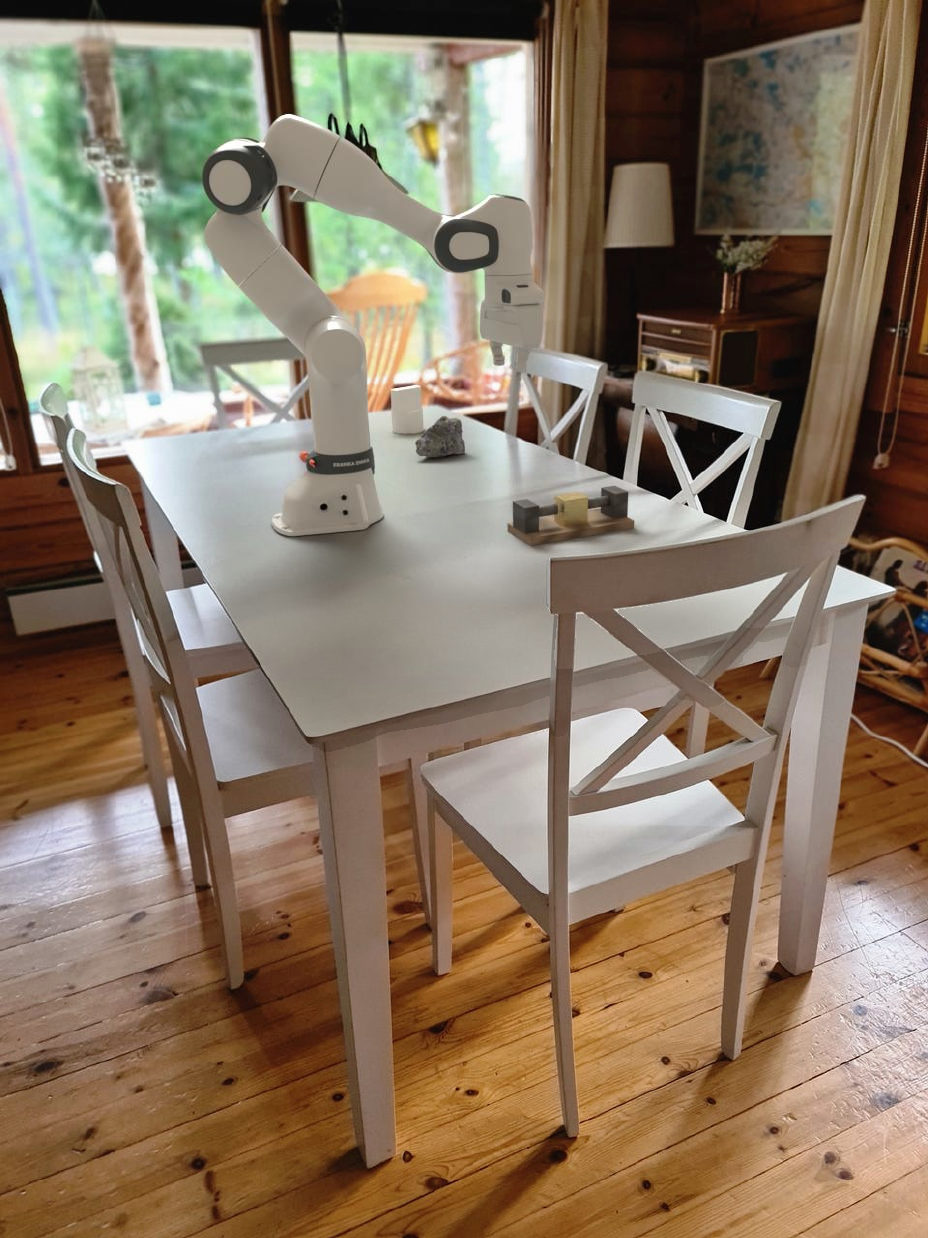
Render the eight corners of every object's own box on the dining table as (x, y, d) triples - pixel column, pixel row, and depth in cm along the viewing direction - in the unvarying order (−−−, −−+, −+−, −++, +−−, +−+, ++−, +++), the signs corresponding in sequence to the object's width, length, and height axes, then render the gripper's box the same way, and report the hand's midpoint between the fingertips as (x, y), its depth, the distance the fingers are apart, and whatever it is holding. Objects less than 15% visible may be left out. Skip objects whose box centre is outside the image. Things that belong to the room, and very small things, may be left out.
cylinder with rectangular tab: (411, 425, 271) (409, 383, 266) (430, 430, 264) (428, 387, 259) (386, 430, 266) (383, 388, 261) (404, 435, 259) (402, 391, 254)
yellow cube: (564, 526, 174) (564, 500, 172) (554, 520, 177) (554, 495, 175) (587, 522, 176) (588, 497, 174) (577, 517, 179) (577, 491, 177)
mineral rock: (416, 462, 230) (414, 421, 226) (414, 452, 240) (411, 413, 236) (467, 459, 231) (466, 418, 227) (463, 449, 241) (462, 410, 237)
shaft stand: (530, 545, 169) (530, 511, 166) (507, 530, 178) (507, 497, 175) (634, 527, 176) (635, 494, 174) (607, 514, 185) (608, 482, 182)
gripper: (470, 289, 178) (472, 362, 183) (516, 295, 160) (517, 376, 166) (500, 287, 180) (501, 360, 185) (549, 293, 162) (548, 373, 168)
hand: (509, 368), depth 175 cm, fingers open, 8 cm apart
